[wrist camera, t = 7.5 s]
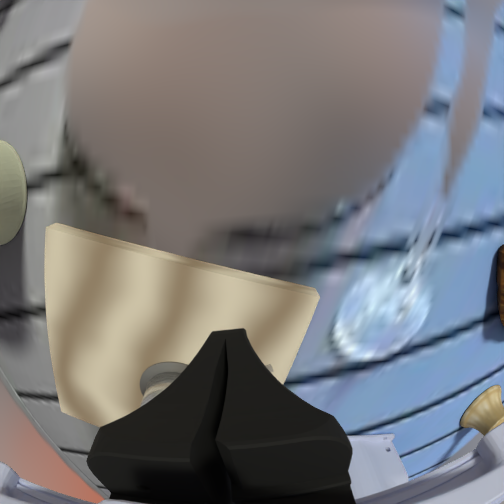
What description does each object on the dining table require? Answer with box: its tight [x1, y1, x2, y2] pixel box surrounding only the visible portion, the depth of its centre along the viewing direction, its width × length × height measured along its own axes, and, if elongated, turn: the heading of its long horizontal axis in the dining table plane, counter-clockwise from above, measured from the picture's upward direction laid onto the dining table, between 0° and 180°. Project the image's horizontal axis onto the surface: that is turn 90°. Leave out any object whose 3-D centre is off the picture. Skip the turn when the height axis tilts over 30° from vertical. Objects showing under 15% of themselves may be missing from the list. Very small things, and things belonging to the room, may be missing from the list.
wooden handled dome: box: [140, 372, 181, 407], centre depth 21 cm, size 11×5×3 cm, turn 8°
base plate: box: [45, 223, 320, 427], centre depth 22 cm, size 20×20×2 cm
